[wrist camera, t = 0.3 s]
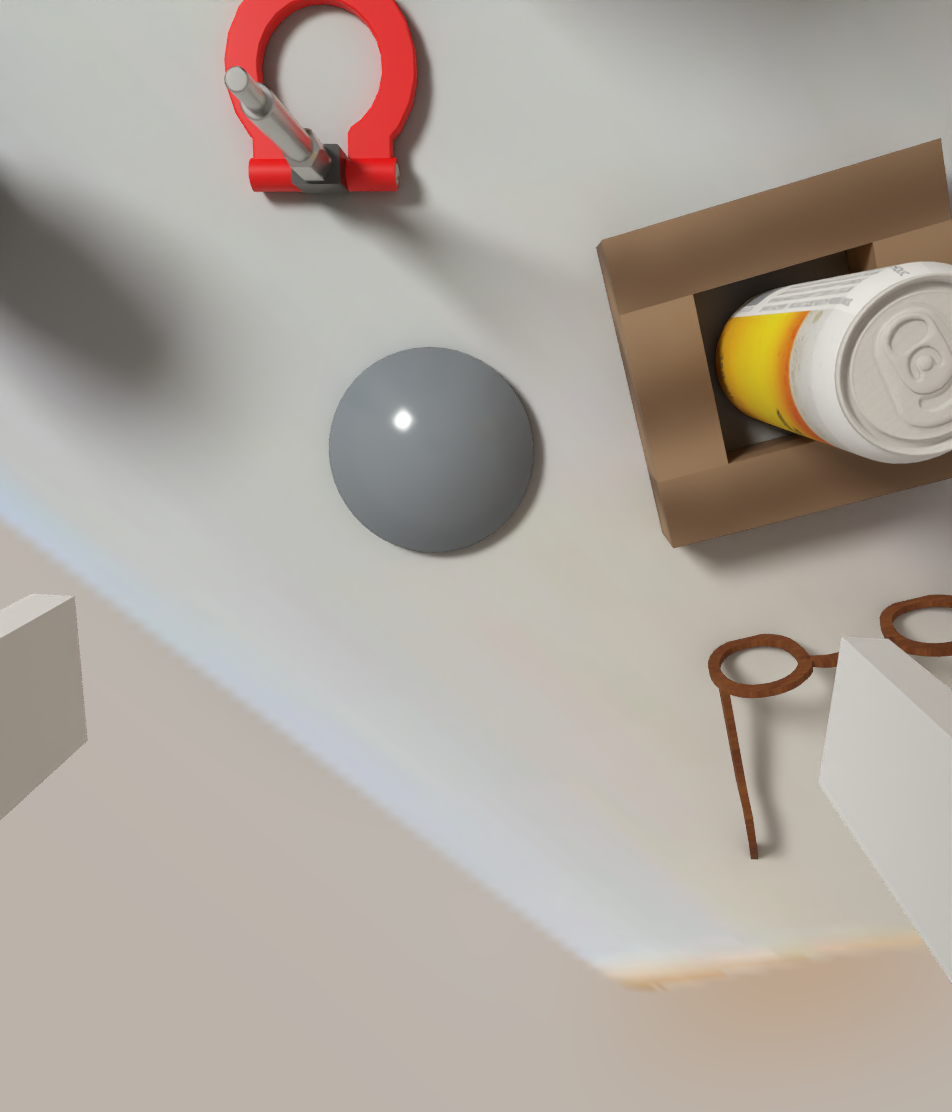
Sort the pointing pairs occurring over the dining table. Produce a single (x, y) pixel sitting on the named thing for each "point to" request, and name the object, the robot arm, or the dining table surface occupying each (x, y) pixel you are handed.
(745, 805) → the glasses
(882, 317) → the beer can
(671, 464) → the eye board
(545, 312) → the dining table surface
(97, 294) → the dining table surface
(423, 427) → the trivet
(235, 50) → the tow hook
